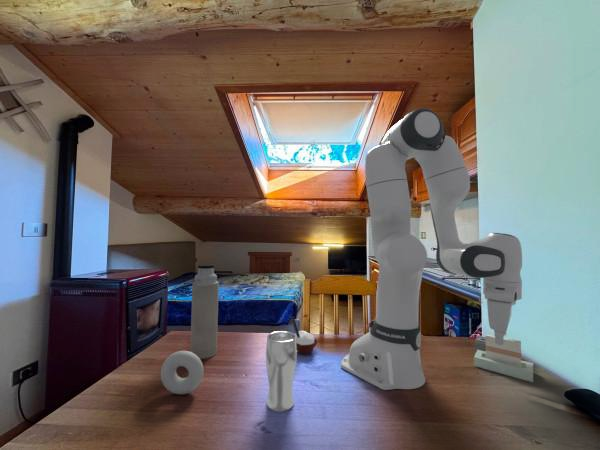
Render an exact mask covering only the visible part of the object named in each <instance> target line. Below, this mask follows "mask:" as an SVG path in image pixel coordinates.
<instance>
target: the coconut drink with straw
mask: <svg viewBox="0 0 600 450" xmlns="http://www.w3.org/2000/svg"><path fill="white" fill-rule="evenodd" d="M290 319H291V322H292V325H293V328H294V329H293V330H294V332H295V335H296V348H297V353H299V354H300V355H303V356H308V355H311V353H312V352H313V351H314V348H315V347H316V346H317V343H318V341H317V339H315V335H313V334H311V333H309V332H307V331H306V330H298V326H297V322H296V319H295V317H294V316H292V315H291V316H290Z"/></svg>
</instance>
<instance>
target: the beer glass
mask: <svg viewBox="0 0 600 450" xmlns="http://www.w3.org/2000/svg"><path fill="white" fill-rule="evenodd" d="M266 338H267V339H266V348H265V349H266V350H265V364H266V374H267V379H268V394H267V399H266V406H267V407H268V409H269V410H271V411H274V412H275V413H276V412H277V413H280V412H281V413H283V412H287V411H289V410H291V409H292V408H293V407H294V404H295V400H294V393H293V385H294V384H293V382H294V378H295V372H296V365H297V355H298V351H297V348H296V333H294V332H291V331H285V330H277V331H273V332H271V333H269V334H267V336H266Z"/></svg>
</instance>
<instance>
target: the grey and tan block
mask: <svg viewBox="0 0 600 450" xmlns="http://www.w3.org/2000/svg"><path fill="white" fill-rule="evenodd" d="M474 346H475V347H474V348H475V349H474V351H475V354H476V352H477V350H481V351H485V352H486V336H485V337H484V336H479V335H478V336H477V338H476V339H475V343H474ZM475 354H474V355H475Z"/></svg>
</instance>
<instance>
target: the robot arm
mask: <svg viewBox="0 0 600 450" xmlns="http://www.w3.org/2000/svg"><path fill="white" fill-rule="evenodd" d="M412 158H413V159H414V160H415V161H417V163H418V164H419V165H420V167H421V171H422V175H423V179H424V182H425V186H426V189H427V193H428V198H429V206H430V214H431V220H432V224H433V227H434V228H433V229H434V234H435V238H436V254H435V259H436V263H437V265H438V267H439V268H440V269H441V270H442V271H443V272H444V273H446V274H450V275H457V276H458V275H459V276H463V277H466V278H472V279H481V278H483V282H482V283H483V284H482V285H483V286H482V287H483V288H482V294H483V295H484V299H485V300H486V301H487V302H486V306H487V308H486V309H487V319H488V326H489V328H490V329H491V330H493V331H494V336H495V343H496V344H499V345H503V343H504V338H505V337H506V335H507V331H508V327H509V323H510V321H511V317H512V310H513V309H512V306H514V305H516V303H517V301H518V300H521V299H522V297H523V296H522V295H523V281H522V280H523V279H522V277H521V270H522V268H523V251H522V245H521V241H520V239H519V238H518V237H516V236H514V235H512V234H507V233H501V232H489V233H487V234H486V235H485V236H484V237H482V238H480V239H478V240H475V241H472V242H470V243H464V242H462V241H461V240H460V237H459V233H458V229H457V223H456V219H455V217H456V216H455V212H456V210H457V207H458V206H459V205H460V204H461V202H462V201H464V199H465V198H466V197H467V196H468V194H469V192H470V189H471V180H470V179H471V178H470V174H469V170H468V169H467V165H466V162H465V159H464V156H463V155H462V152H461V150H460V148H459V146H458V145H457V142H456V141H455V140H454V138H452V136H450V135H446V129H445V128H444V124H443V122H442V120H441V118H440V117H439V115H438V114H437V113H436V112H435V111H434V110H432V109H430V108H428V107H427V108H426V107H422V108H420V107H419V108H417V109H414V110H412V111H410V112H409V113H407V114H406V115H405V116H404V117H403V118H401V119H400V120H399V121H398V122H396V123H395V124H393V125H392V126H391V127H390V128H389V130H387V132H386V133H385V134H384V135H383V136H382V138H381V139H380V141H379V143H378V145H377V146H374V147H373V148H371V149H370V150H369V151H368V152H367V153H366V155H365V159H364V160H365V161H364V162H365V163H364V164H365V165H364V167H365V168H364V177H365V187H366V193H367V194H366V195H367V199H368V200H367V201H368V205H369V206H368V207H369V212H370V214H369V215H370V224H371V225H370V226H371V237H372V240H371V241H372V248H373V255H374V258H375V260H376V262H377V263H378V266H379V267H378V277H377V278H378V279H377V287H376V293H375V298H376V299H375V317H374V319H372V320H370V322H369V323H367V328H368V329H369V331H368V332H367V333H365V334H363V335H362V336H360V337H358V338H357V339H355V340H354V342H352V344H351V346H350V349H349V352H348V354H346V355H345V356H344V357H343V358H342V360H341V363H340V368H342V369H343V370H345V371H347V372H349V373H351V374H352V375H354V376H356V377H358V378H360V379H362V380H364V381H366V382H367V383H369V384H371V385H373V386H374V387H377V388H379V389H381V390H383V391H389V390H397V389H398V390H414V389H418V388H420V387H422V386H424V385H425V383H426V377H425V374H424V370H423V367H422V360H421V353H420V348H421V343H422V340H421V339H422V335H421V334H422V333H421V326H420V324H419V310H420V308H419V302H420V301H419V298H420V290H421V285H422V282H423V281H422V280H423V274H424V268H425V265H426V264H427V261H428V252H427V249H426V246H425V245H424V243H423V242H422V241H421V240H420V239H419V238H417V237H416V236H415V235H413V234H412V233H411V216H412V215H411V214H412V202H411V197H410V196H411V195H410V190H409V184H408V179H407V177H408V176H407V172H406V162H407V161H408V160H411V159H412Z"/></svg>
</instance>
